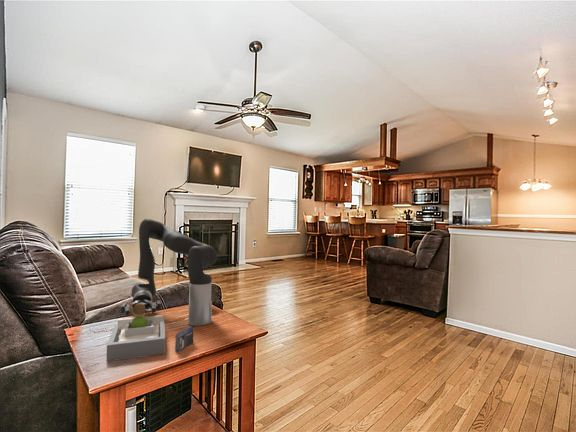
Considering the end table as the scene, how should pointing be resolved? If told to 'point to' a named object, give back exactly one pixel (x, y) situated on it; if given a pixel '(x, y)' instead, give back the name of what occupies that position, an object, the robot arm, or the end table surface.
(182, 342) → the mini dv tape
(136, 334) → the tray
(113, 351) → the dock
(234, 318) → the end table surface
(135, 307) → the snail figurine
